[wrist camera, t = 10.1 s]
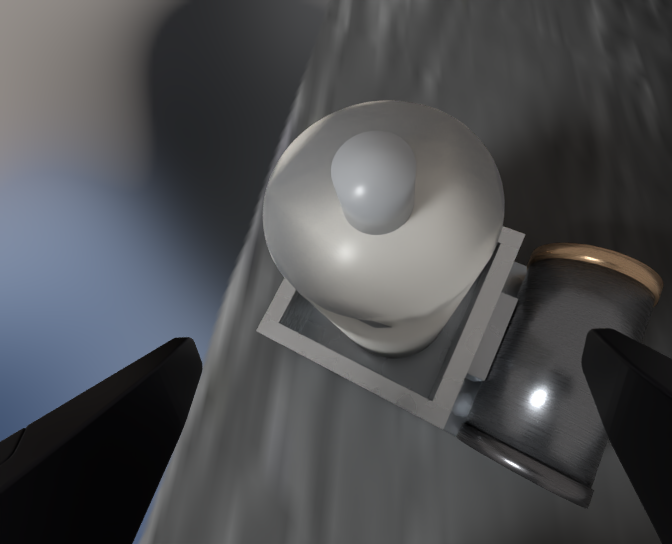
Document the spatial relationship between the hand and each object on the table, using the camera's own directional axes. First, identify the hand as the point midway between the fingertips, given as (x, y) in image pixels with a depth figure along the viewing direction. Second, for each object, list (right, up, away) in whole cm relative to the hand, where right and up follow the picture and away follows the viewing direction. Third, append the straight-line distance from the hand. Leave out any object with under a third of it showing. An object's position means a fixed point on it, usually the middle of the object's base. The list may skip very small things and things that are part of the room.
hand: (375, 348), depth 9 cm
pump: (+2, 0, +13) cm, 13 cm away
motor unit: (+5, -1, +12) cm, 13 cm away
